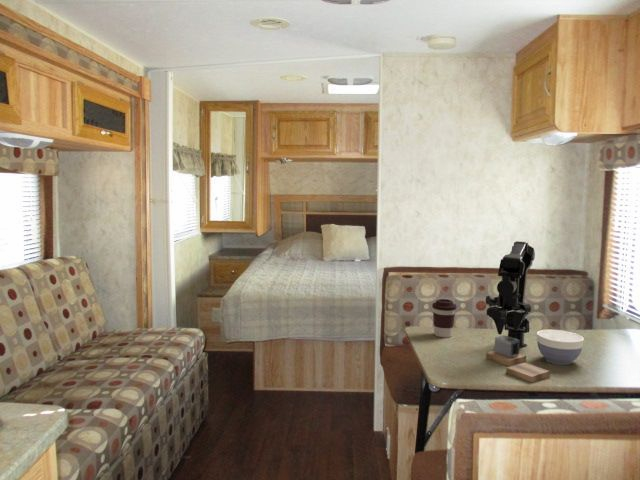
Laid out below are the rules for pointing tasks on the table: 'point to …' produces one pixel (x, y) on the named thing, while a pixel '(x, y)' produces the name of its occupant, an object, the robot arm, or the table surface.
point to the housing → (506, 346)
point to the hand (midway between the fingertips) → (507, 332)
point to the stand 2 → (527, 372)
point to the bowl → (559, 346)
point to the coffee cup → (443, 317)
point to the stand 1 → (506, 358)
